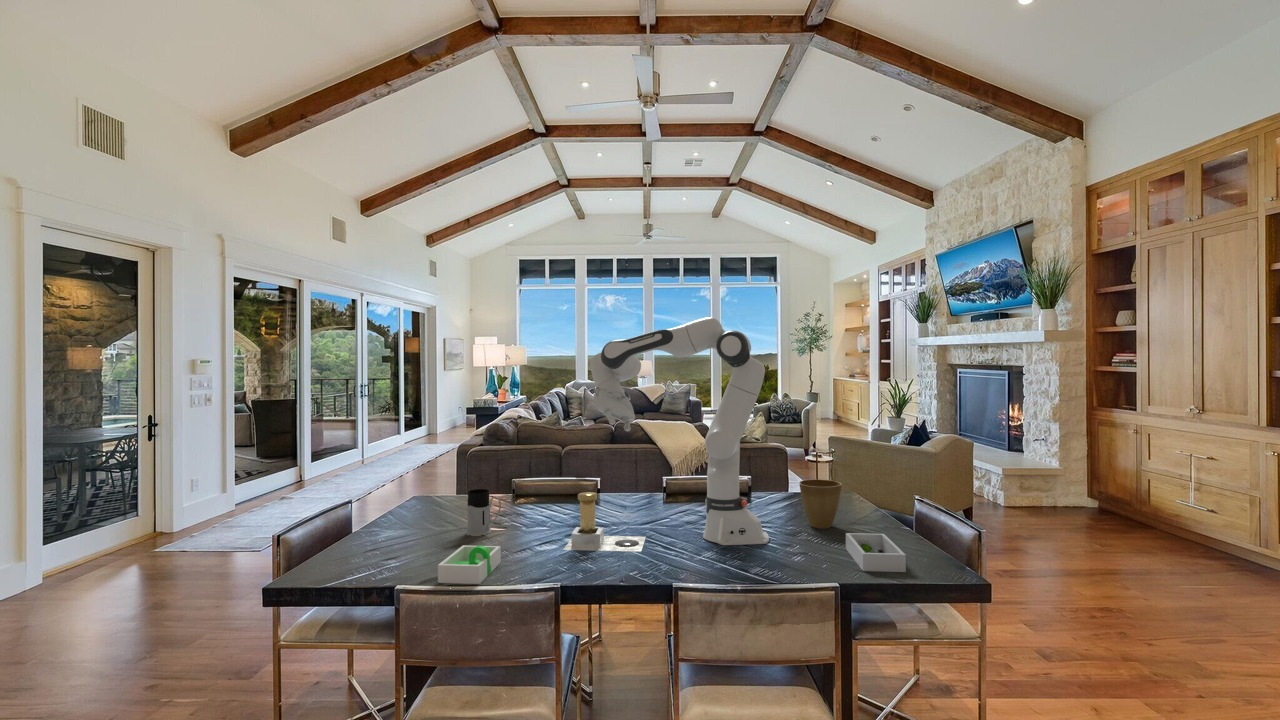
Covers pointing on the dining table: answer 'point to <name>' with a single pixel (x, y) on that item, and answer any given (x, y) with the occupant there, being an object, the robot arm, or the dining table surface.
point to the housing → (603, 541)
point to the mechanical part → (475, 561)
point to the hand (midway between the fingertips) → (620, 427)
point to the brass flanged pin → (587, 512)
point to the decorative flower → (867, 546)
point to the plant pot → (820, 501)
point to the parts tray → (467, 566)
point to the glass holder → (479, 512)
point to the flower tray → (882, 562)
